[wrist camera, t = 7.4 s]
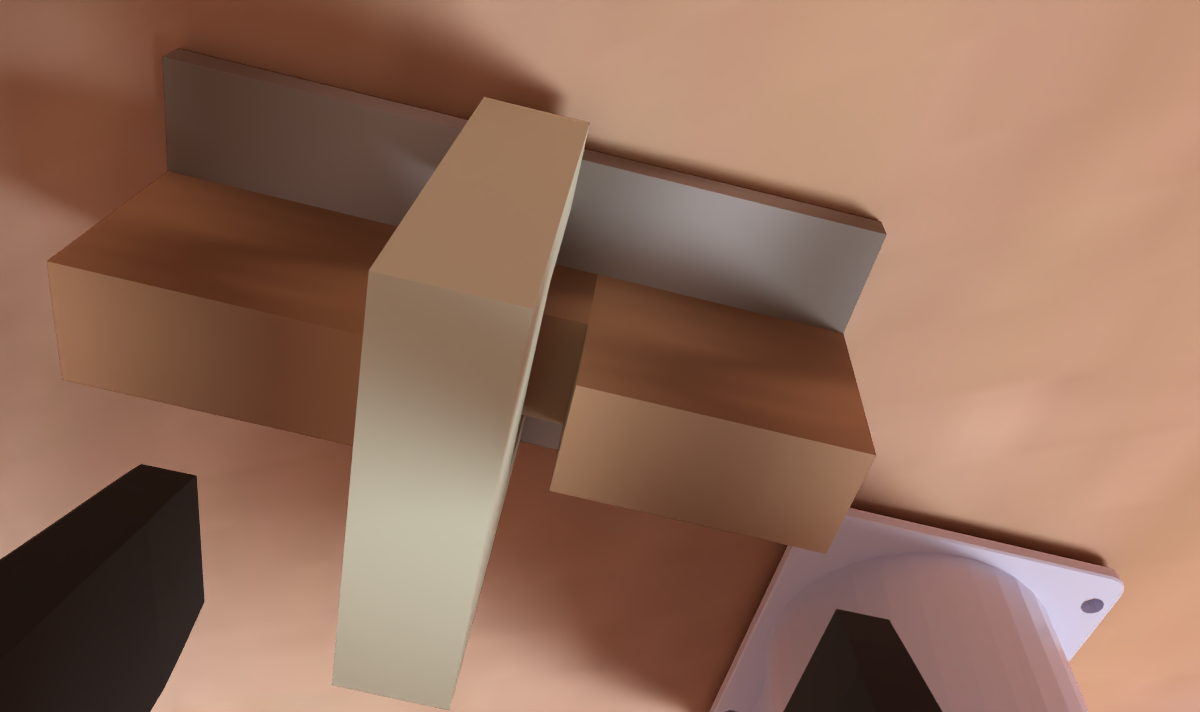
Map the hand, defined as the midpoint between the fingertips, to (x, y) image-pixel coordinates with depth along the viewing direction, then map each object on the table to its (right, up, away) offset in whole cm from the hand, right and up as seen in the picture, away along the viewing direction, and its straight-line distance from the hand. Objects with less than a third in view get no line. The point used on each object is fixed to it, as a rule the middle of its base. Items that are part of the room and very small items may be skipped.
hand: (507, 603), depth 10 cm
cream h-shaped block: (-1, +4, +9) cm, 10 cm away
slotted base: (-1, +4, +9) cm, 10 cm away
